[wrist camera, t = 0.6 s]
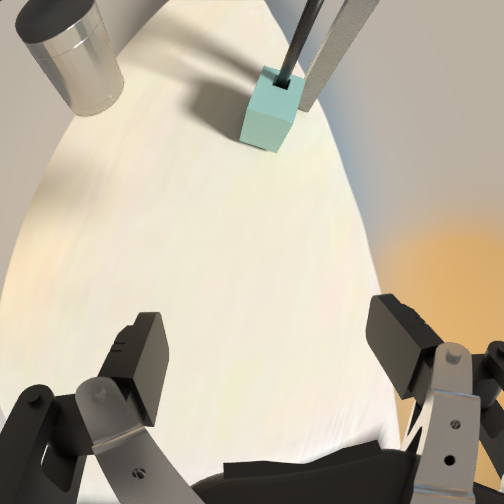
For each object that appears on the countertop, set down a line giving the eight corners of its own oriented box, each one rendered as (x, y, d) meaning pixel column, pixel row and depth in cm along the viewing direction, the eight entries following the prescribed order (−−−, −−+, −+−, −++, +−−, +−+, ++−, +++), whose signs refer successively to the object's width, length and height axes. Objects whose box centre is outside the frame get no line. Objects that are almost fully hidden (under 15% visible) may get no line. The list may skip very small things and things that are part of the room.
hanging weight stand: (300, 142, 38) (459, -75, 4) (249, 124, 37) (338, -133, 3) (311, 100, 39) (435, -91, 4) (264, 84, 38) (345, -132, 4)
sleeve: (276, 153, 36) (293, 123, 28) (239, 140, 36) (247, 108, 28) (288, 112, 37) (305, 79, 29) (254, 101, 37) (264, 65, 29)
